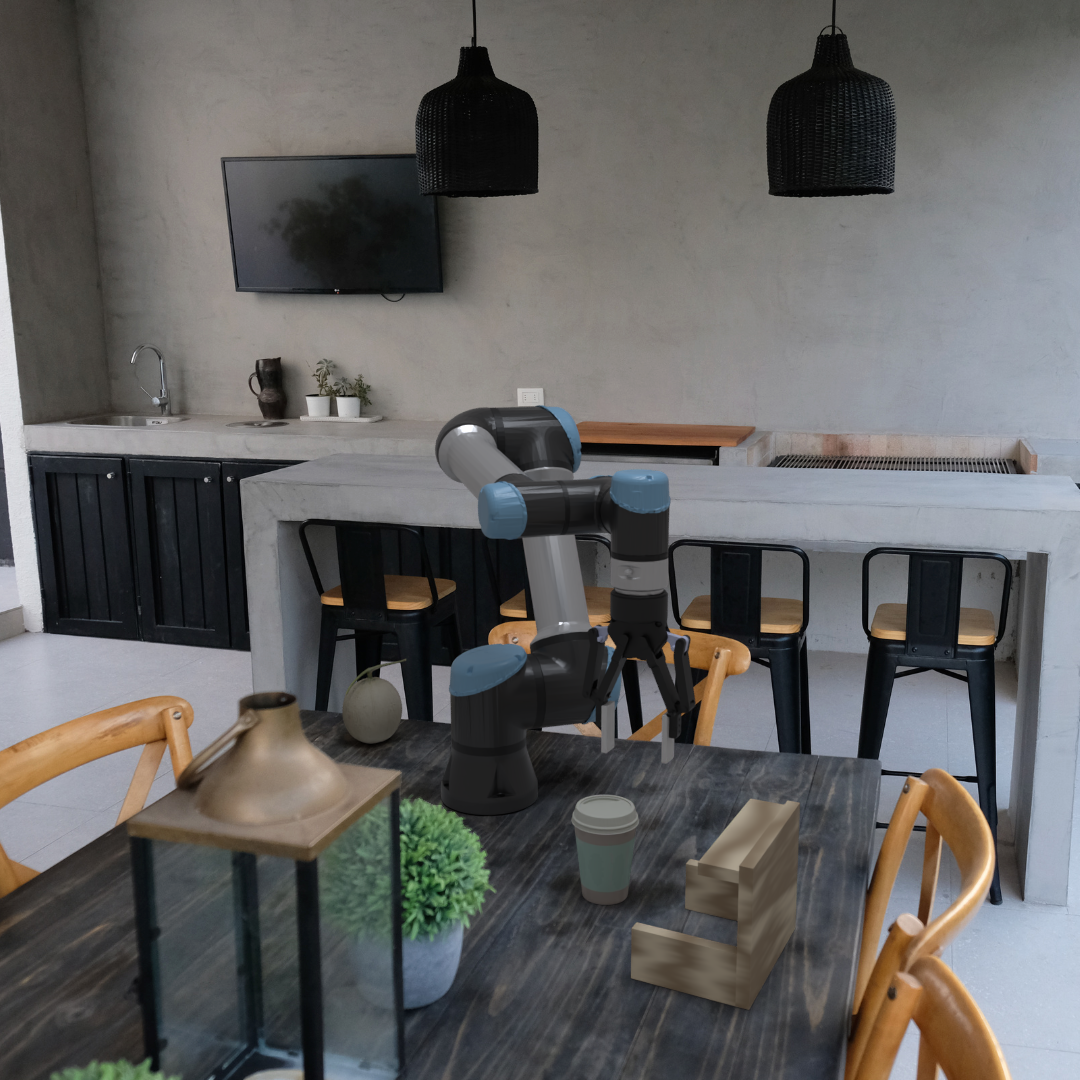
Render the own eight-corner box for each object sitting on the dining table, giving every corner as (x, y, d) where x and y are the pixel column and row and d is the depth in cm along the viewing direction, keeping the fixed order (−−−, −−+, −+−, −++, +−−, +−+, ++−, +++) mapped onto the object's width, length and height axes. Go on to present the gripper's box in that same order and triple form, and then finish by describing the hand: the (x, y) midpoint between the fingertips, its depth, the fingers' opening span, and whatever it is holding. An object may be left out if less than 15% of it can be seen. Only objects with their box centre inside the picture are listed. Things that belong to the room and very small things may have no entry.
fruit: (327, 743, 199) (324, 662, 197) (376, 727, 208) (373, 648, 206) (366, 757, 193) (363, 673, 190) (415, 739, 201) (413, 658, 199)
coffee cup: (645, 884, 147) (646, 797, 145) (628, 915, 139) (629, 823, 137) (582, 874, 150) (582, 789, 148) (562, 904, 142) (562, 814, 140)
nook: (630, 978, 125) (632, 843, 123) (689, 903, 142) (691, 783, 139) (749, 1010, 119) (753, 868, 116) (795, 928, 136) (800, 802, 133)
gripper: (555, 587, 149) (555, 751, 152) (705, 602, 139) (702, 777, 143) (579, 576, 155) (579, 734, 159) (724, 590, 146) (720, 758, 150)
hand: (637, 754), depth 151 cm, fingers open, 8 cm apart
